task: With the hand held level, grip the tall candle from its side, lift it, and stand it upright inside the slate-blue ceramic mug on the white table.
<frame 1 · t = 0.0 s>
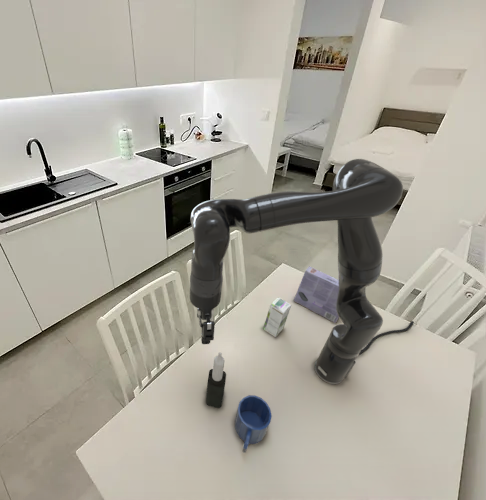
hand: (203, 329, 76), 29 cm above the table, tool pointing down, fingers open, 8 cm apart
mug: (249, 426, 84), on the table
candle: (214, 399, 90), on the table
syrup box: (273, 329, 112), on the table
cake pan box: (316, 309, 120), on the table
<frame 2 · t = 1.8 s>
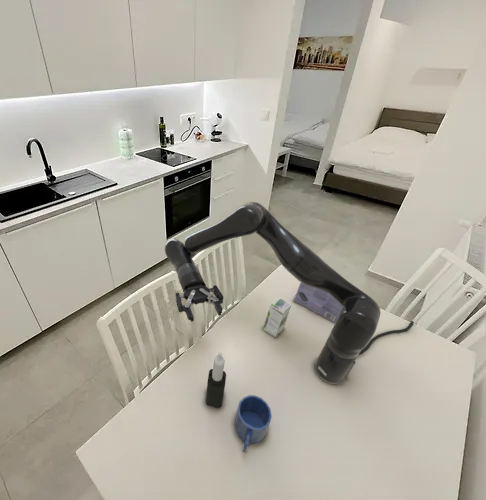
hand: (206, 316, 82), 27 cm above the table, tool horizontal, fingers open, 8 cm apart
nothing on the table moved.
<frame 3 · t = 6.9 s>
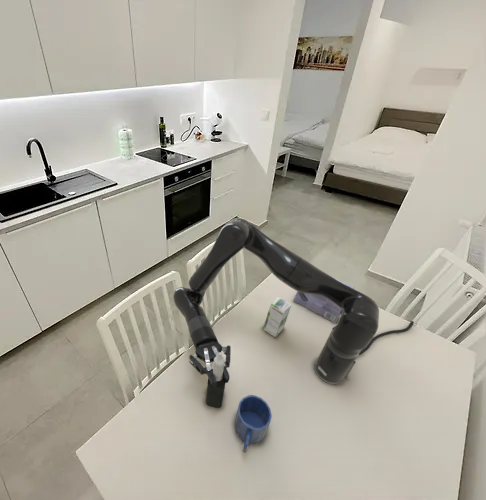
hand: (221, 382, 79), 15 cm above the table, tool horizontal, fingers closed on candle, 3 cm apart
candle: (214, 399, 90), on the table, touching gripper
everything else where it was.
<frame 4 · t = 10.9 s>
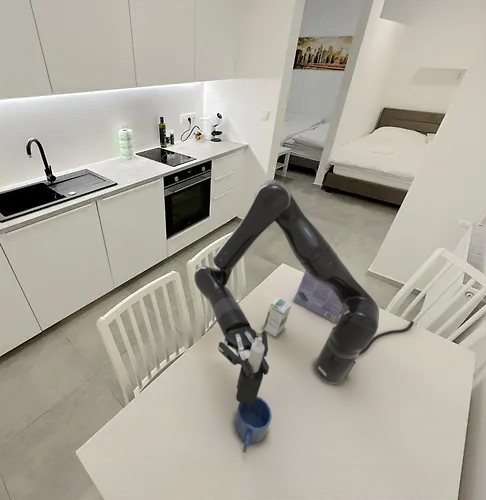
hand: (259, 374, 66), 30 cm above the table, tool horizontal, fingers closed on candle, 3 cm apart
candle: (245, 394, 77), point 14 cm above the table, touching gripper
everything else where it was.
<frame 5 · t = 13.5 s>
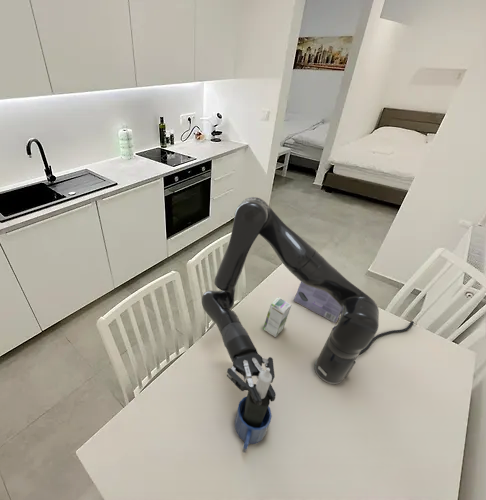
hand: (266, 401, 69), 21 cm above the table, tool horizontal, fingers closed on candle, 3 cm apart
candle: (251, 416, 80), point 6 cm above the table, touching gripper
everything else where it was.
when the fingers open (16 cm above the table, at t = 15.3 s): candle stays where it is, resting on mug.
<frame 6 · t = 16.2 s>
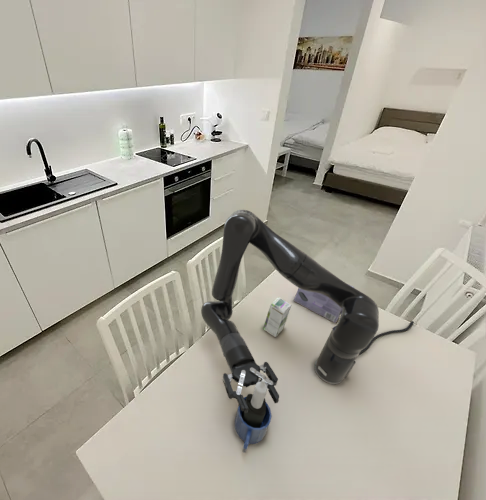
hand: (262, 406, 72), 17 cm above the table, tool horizontal, fingers open, 8 cm apart
candle: (249, 425, 83), point 1 cm above the table, touching mug
everything else where it was.
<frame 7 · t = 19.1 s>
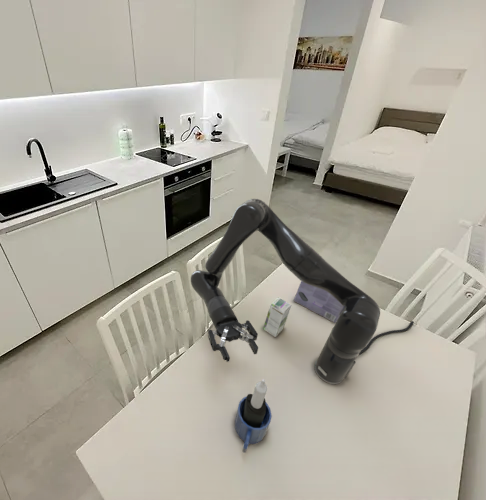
hand: (242, 356, 80), 20 cm above the table, tool horizontal, fingers open, 8 cm apart
nothing on the table moved.
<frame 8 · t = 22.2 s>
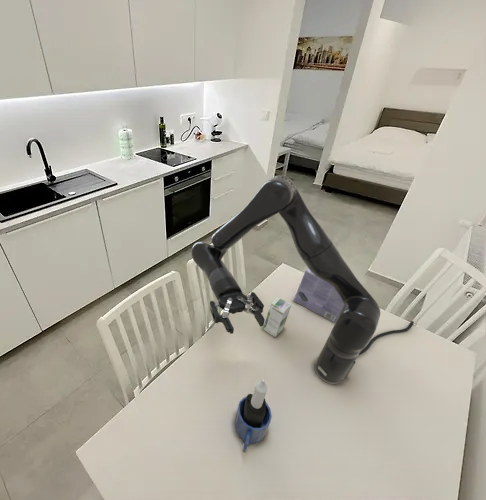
hand: (247, 328, 73), 32 cm above the table, tool horizontal, fingers open, 8 cm apart
nothing on the table moved.
at the end: candle 0.3 cm off-centre in the mug, point 0.6 cm above the mug's base; candle tilted 0°; the gripper is holding nothing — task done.
